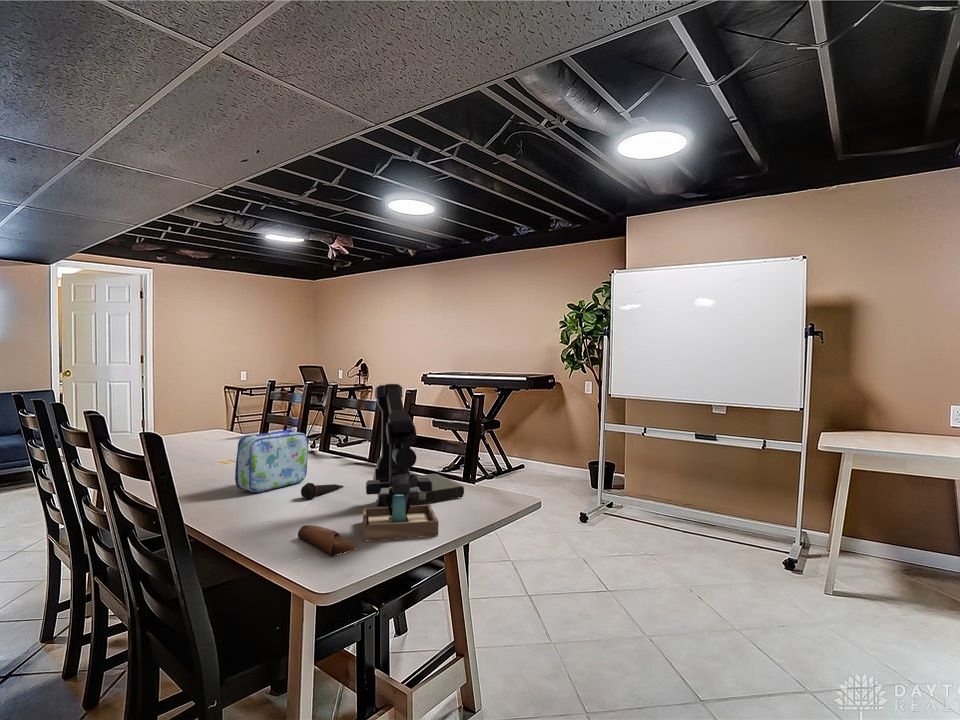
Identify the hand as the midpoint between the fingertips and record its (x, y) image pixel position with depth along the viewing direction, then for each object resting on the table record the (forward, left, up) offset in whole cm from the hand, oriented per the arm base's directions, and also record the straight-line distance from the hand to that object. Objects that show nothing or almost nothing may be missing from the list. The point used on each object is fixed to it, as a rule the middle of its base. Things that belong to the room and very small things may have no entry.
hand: (398, 515), depth 144 cm
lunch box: (-54, -42, -3) cm, 68 cm away
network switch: (-32, +12, -4) cm, 34 cm away
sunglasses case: (+10, -19, -4) cm, 22 cm away
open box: (+2, 0, -3) cm, 4 cm away
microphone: (-40, -23, -4) cm, 46 cm away
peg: (0, 0, -2) cm, 2 cm away
